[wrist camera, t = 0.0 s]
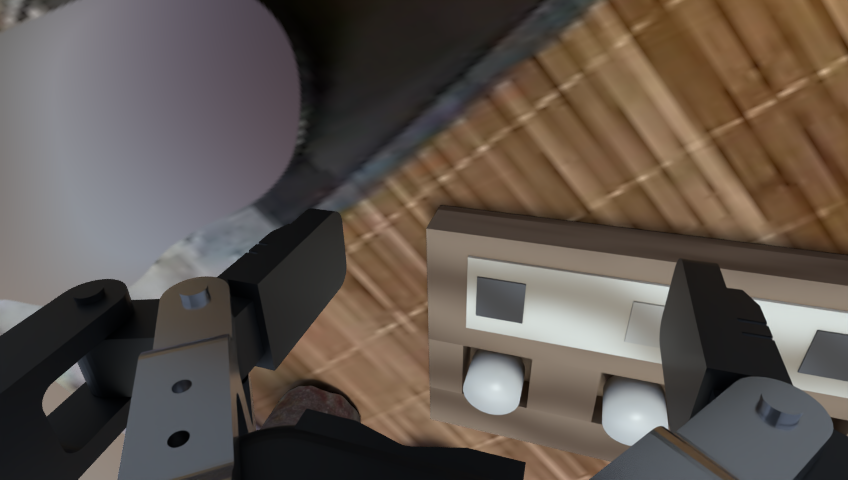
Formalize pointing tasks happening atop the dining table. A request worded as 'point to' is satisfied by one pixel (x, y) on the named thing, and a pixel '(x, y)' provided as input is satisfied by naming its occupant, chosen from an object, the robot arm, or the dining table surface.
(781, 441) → the robot arm
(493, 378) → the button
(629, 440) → the button middle
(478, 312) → the button board
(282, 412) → the candle
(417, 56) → the dining table surface
